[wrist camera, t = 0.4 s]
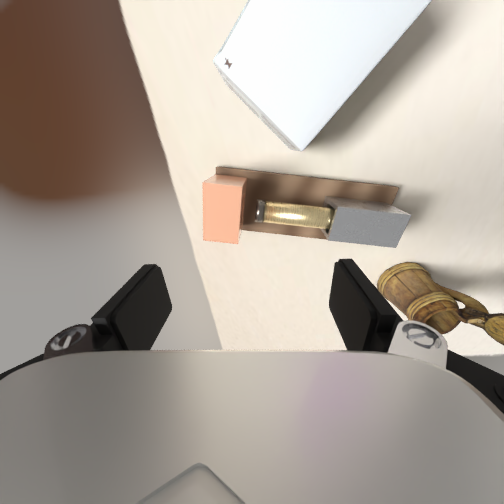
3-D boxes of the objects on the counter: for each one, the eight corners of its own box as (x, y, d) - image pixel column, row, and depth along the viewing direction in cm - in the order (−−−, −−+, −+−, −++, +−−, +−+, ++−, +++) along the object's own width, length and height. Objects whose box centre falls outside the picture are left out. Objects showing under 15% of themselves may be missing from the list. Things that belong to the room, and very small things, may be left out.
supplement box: (292, 152, 32) (301, 154, 24) (225, 85, 29) (209, 61, 21) (388, 37, 26) (447, -13, 18) (316, -67, 22) (347, -191, 14)
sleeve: (386, 202, 34) (411, 214, 28) (374, 231, 36) (395, 247, 30) (325, 196, 34) (338, 206, 28) (317, 224, 36) (328, 240, 30)
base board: (393, 186, 34) (398, 187, 32) (371, 241, 38) (375, 244, 37) (217, 166, 34) (215, 167, 32) (216, 224, 38) (215, 227, 37)
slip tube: (388, 211, 32) (401, 218, 29) (380, 231, 33) (391, 240, 30) (257, 196, 32) (256, 202, 29) (255, 217, 33) (254, 224, 30)
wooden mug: (447, 287, 42) (559, 374, 26) (378, 301, 45) (441, 388, 29) (452, 251, 38) (585, 326, 23) (375, 268, 41) (446, 347, 25)
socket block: (246, 177, 33) (242, 186, 26) (243, 224, 37) (238, 244, 29) (215, 174, 33) (202, 182, 26) (215, 221, 37) (203, 240, 29)
